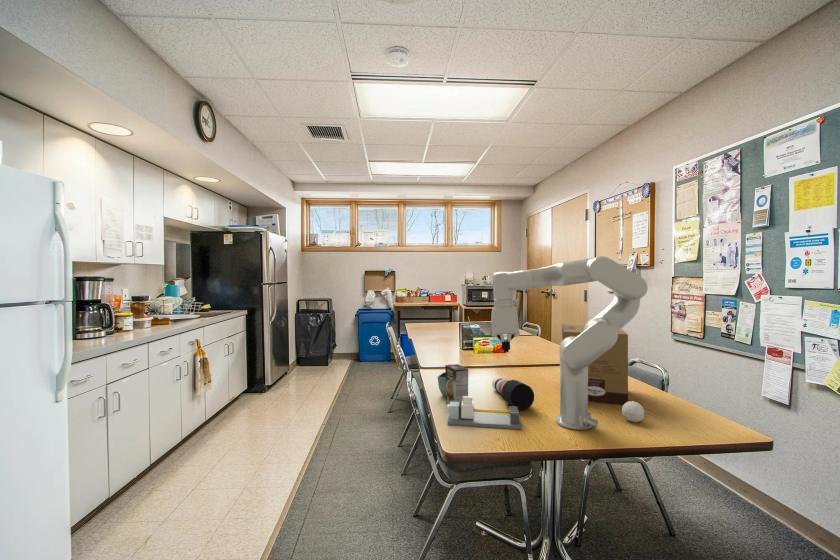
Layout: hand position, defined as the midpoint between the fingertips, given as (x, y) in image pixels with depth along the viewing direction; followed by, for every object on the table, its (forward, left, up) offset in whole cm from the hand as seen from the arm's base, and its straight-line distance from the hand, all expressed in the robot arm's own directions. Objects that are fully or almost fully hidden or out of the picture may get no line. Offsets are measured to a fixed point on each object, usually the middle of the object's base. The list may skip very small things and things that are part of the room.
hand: (506, 351), depth 142 cm
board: (+1, +11, -25) cm, 27 cm away
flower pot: (+33, +1, -25) cm, 42 cm away
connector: (+9, +18, -24) cm, 31 cm away
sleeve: (+6, +15, -23) cm, 28 cm away
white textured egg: (-32, -34, -25) cm, 53 cm away
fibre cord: (+1, +10, -22) cm, 24 cm away
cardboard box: (-4, -53, -25) cm, 59 cm away
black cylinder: (+15, -17, -25) cm, 34 cm away
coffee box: (+21, +7, -25) cm, 34 cm away
